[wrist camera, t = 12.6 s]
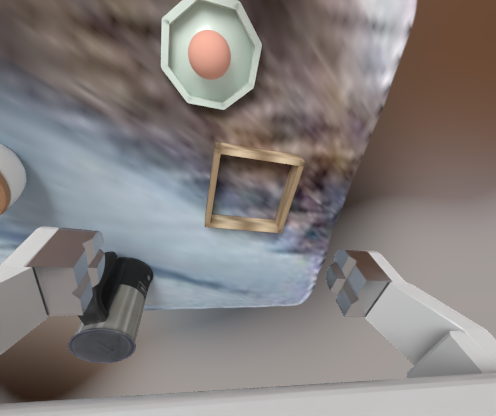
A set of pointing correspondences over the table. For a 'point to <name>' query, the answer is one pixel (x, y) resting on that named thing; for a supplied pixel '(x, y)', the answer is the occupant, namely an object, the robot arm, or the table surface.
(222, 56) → the ball
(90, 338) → the milk frother
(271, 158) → the wooden square frame
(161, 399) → the robot arm
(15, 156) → the lidded jar
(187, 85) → the saucer
